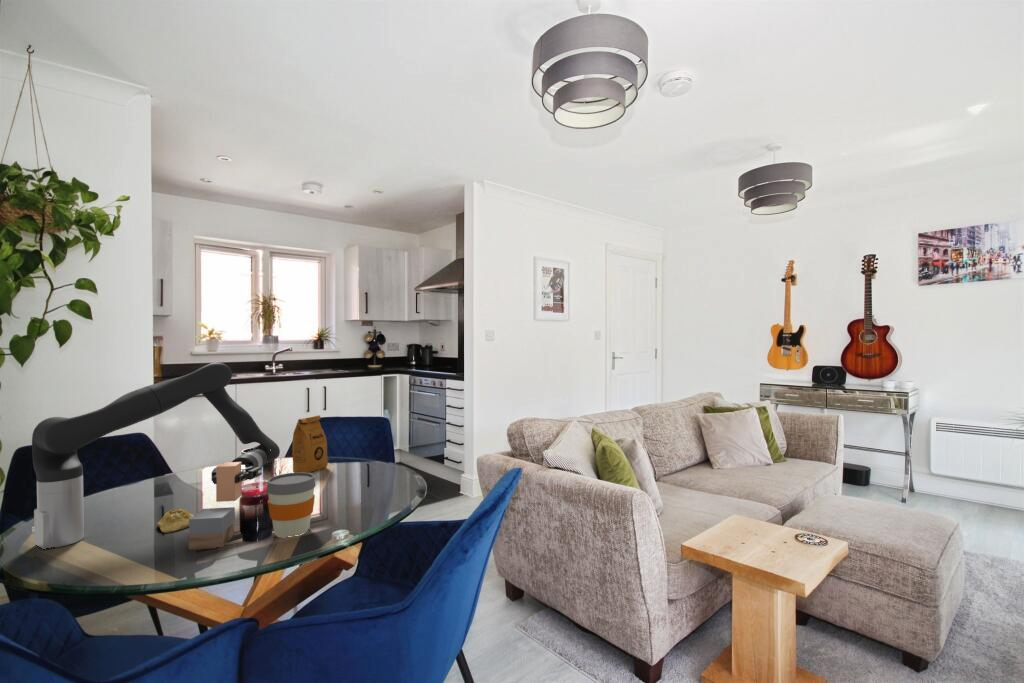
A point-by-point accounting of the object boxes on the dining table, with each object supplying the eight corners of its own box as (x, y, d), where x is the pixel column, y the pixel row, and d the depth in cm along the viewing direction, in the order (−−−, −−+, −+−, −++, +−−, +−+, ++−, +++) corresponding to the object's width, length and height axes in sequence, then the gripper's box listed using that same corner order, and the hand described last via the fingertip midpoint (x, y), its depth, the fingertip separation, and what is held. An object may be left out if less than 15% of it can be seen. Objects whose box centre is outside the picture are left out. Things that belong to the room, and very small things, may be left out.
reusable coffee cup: (268, 527, 144) (268, 474, 144) (315, 520, 149) (315, 470, 149) (265, 543, 133) (264, 487, 133) (316, 536, 137) (315, 481, 137)
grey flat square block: (222, 532, 131) (222, 517, 131) (189, 534, 130) (188, 519, 130) (234, 521, 139) (234, 507, 139) (203, 523, 138) (203, 508, 137)
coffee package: (331, 468, 208) (330, 415, 208) (306, 476, 197) (305, 419, 197) (314, 465, 213) (314, 413, 213) (289, 473, 202) (288, 418, 202)
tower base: (222, 548, 131) (222, 532, 131) (188, 550, 129) (188, 535, 129) (234, 536, 139) (233, 521, 139) (202, 538, 137) (202, 523, 137)
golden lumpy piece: (194, 507, 144) (152, 513, 140) (194, 528, 143) (151, 535, 139) (200, 505, 154) (161, 510, 150) (200, 525, 153) (160, 531, 149)
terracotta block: (235, 500, 145) (235, 466, 145) (216, 501, 144) (216, 466, 144) (241, 495, 150) (241, 461, 150) (223, 496, 149) (223, 462, 149)
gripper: (222, 454, 160) (198, 468, 143) (270, 453, 162) (252, 466, 145) (222, 478, 160) (198, 494, 143) (270, 476, 162) (252, 492, 145)
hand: (225, 480), depth 144 cm, fingers closed on terracotta block, 5 cm apart
